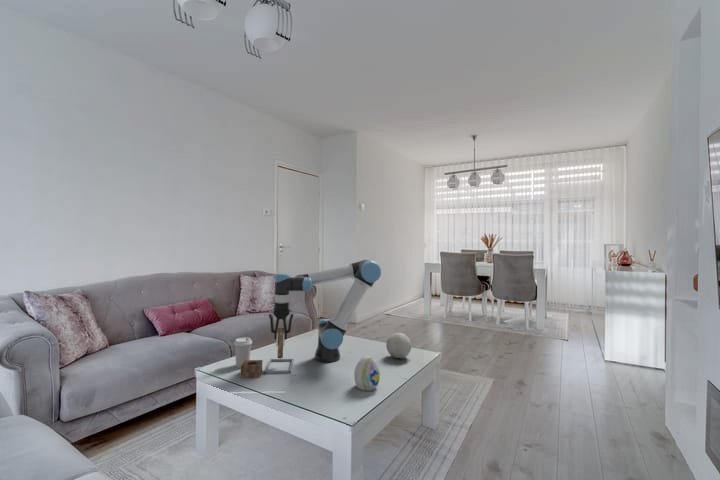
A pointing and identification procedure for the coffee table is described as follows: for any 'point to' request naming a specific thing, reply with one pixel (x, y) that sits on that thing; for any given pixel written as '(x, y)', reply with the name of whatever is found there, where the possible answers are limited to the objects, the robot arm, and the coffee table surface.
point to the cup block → (251, 369)
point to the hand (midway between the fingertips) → (280, 345)
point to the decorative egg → (367, 374)
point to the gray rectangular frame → (279, 371)
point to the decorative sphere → (398, 345)
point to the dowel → (280, 342)
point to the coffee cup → (242, 350)
